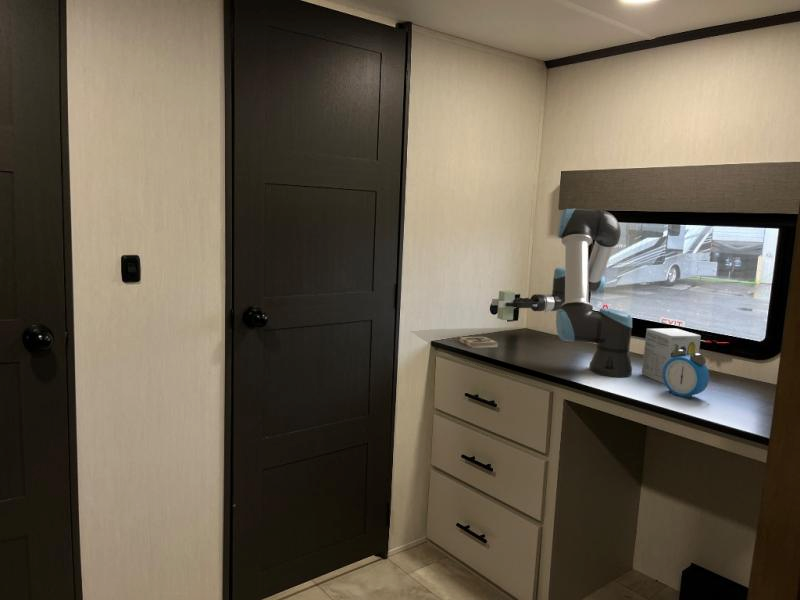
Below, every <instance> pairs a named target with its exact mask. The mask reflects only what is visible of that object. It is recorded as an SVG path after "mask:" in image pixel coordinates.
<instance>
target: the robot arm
mask: <svg viewBox="0 0 800 600" xmlns="http://www.w3.org/2000/svg"><path fill="white" fill-rule="evenodd" d="M621 232H622V231H621V226H620V224H619V222H618V220H617V218H616V217H615V216H614V215H613V214H612V213H610V212H608V211H606V210H604V209H585V208H583V209H581V208H565V209H563V211H561V214H560V219H559V224H558V227H557V235H556V236H557V238H559V239H561V244H562V246H565V256H564V257H565V260H564V261H565V262H564V263H565V264H564V265H565V267H555V269H554V272H553V277H552V279H553V280H552V291H551V293H550V294H547V293H546V294H545V293H544V294H542V293H541V294H540V293H539V294H536V293H535V294H533V295H531V297H530V298H529V297H525V298H523V297H515V300H513V301H498V300H499V298H492V299H491V306H497V308H498V307H512V306H513V307H514V309H515V308H516V309H531V310H532V311H533V312H545V313H548V312H556V314H555V318H556V320H555V325H556V332H557V336H558V337H559V339H560V340H561V341H566V342H571V343H574V342H575V343H589V344H596V345H595V346H596V347H595V351H594V353H593V356H592V358H591V361H590V362H589V366H588V369H589V371H590V372H593V373H594V374H598V375H602V376H606V377H613V378H615V377H616V378H624V377H625V378H627V377H630V376H632V374H633V367H632V361H631V357H630V349H631V348H630V346H631V340H632V339H631V337H632V331H633V330H632V329H633V317H632V316H631V314H629V313H627V312H625V311H622V310H618V309H612V308H606V307H601V308H599V310H598V311H594V309H593V308H594V307H593V305H592V304H591V302H589V292H603V290H604V289H605V286H606V276H605V275H604V274H605V270H606V268H607V265H608V263H609V260H610V258H611V255H612V252H613V251H614V250H613V249H614V247H616V246H617V245H618V244H619V242H620V240H621ZM593 240H594V244H593V247H592V250H591V253H590V257H589V246H590V245H591V244H592V243H593Z"/></svg>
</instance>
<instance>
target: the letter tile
mask: <svg viewBox="0 0 800 600" xmlns="http://www.w3.org/2000/svg"><path fill="white" fill-rule="evenodd" d="M459 343H462V344H464V345H465V346H467V347H469V348H471V349H476V348H477V349H478V348H479V349H480V348H483V349H484V348H498V342H497V341H495V340H493V339H491V338H489V337H486V336H460V337H459Z"/></svg>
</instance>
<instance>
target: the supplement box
mask: <svg viewBox="0 0 800 600" xmlns="http://www.w3.org/2000/svg"><path fill="white" fill-rule="evenodd" d="M701 337H702V335H700V334H697V333H693V332H689V331H686V330H683V329H680V328H673V327H672V328H670V327H669V328H666V327H664V328H662V327H661V328H660V327H659V328H646V332H645V340H644V351H643V358H642V367H641V375H643V376H646V377H648V378H651V379H652V380H655V381H657V382H660V383H661V384H664V385H665V383H664V380H663V368H664V366H665V364H666V363H667V362H668V361H669V360H670V359H672V358H671V356H670V355H671V353H672V351H674V350H676V349H682V350H684V351H685V352H686V354H684V355H692V354H693V353H700V348H701V347H700V346H701V340H702V339H701ZM687 352H688V353H690V354H687ZM684 355H681V356H684ZM677 357H678V356H677ZM673 358H674V357H673Z"/></svg>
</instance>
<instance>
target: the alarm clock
mask: <svg viewBox="0 0 800 600" xmlns="http://www.w3.org/2000/svg"><path fill="white" fill-rule="evenodd" d="M684 354H686V352H685V351H684V350H682V349H676V350H674V351H672V353H671V355H670V356H671V358H672V359H670V360H669V361H668V362H667V363H666V364H665V366H664V368H663V380H664V383H665V384H664V383H663V384H664V385H665V386H666V388H667V389H668V391H669V394H673V395H675V396H678V397H682V398H683V397H684V398H685V397H687V398H688V400H690V399H691V396H695V395H698V394H701V393H703V392H704V391H705V390H706V388H708V386H709V382H710V373H709V369H708V367H707V366H706V363H707V359H706V357H705V356H704V355H703V354H702V353H700V352H699V353H693V354H692V355H684ZM687 354H690V353H688V352H687ZM681 355H684V356H681ZM677 356H678V357H677ZM673 357H674V358H673Z"/></svg>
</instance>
